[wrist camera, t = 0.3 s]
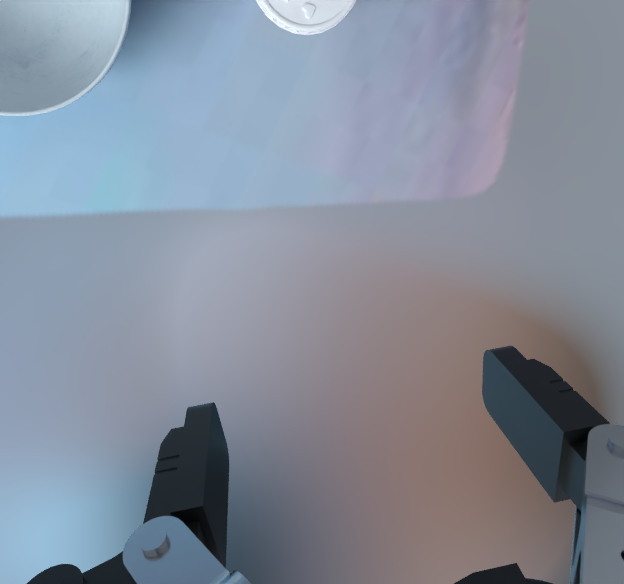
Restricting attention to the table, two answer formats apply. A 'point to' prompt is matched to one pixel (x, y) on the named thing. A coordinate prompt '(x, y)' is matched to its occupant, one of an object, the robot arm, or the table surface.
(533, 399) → the robot arm
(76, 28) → the chinaware
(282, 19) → the smoothie
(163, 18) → the table surface
